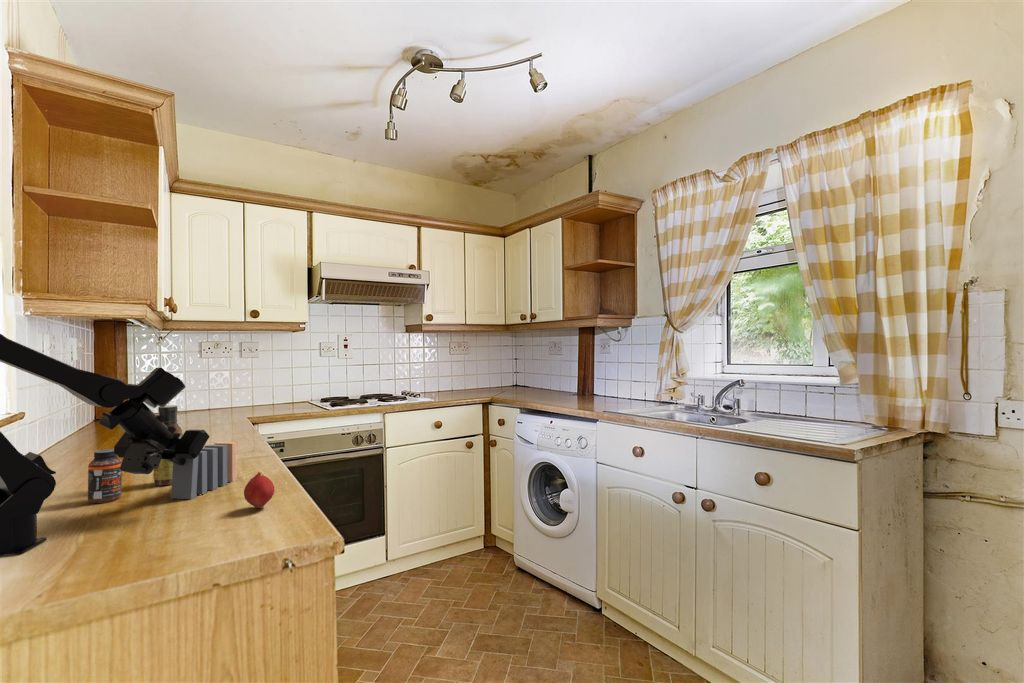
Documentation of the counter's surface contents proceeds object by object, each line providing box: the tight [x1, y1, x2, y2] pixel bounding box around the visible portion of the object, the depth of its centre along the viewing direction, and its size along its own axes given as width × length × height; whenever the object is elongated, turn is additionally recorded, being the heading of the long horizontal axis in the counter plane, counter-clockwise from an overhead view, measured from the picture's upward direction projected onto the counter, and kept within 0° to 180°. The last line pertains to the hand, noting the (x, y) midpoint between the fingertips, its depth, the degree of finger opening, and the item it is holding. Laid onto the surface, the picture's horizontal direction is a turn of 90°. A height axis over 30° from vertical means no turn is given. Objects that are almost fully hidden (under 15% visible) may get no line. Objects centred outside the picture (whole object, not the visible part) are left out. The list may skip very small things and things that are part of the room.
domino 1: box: [170, 455, 199, 500], centre depth 114 cm, size 2×5×10 cm, turn 84°
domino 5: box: [213, 441, 238, 483], centre depth 128 cm, size 2×5×10 cm, turn 83°
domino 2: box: [196, 451, 208, 496], centre depth 117 cm, size 2×5×10 cm, turn 84°
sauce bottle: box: [152, 404, 183, 486], centre depth 126 cm, size 7×6×20 cm
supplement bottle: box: [87, 448, 123, 504], centre depth 113 cm, size 6×6×11 cm
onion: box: [243, 470, 276, 509], centre depth 106 cm, size 6×6×8 cm
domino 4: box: [203, 444, 228, 487], centre depth 124 cm, size 2×5×10 cm, turn 83°
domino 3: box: [201, 447, 219, 491], centre depth 121 cm, size 2×5×10 cm, turn 83°
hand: (183, 463), depth 113 cm, fingers closed, pressing on domino 1
